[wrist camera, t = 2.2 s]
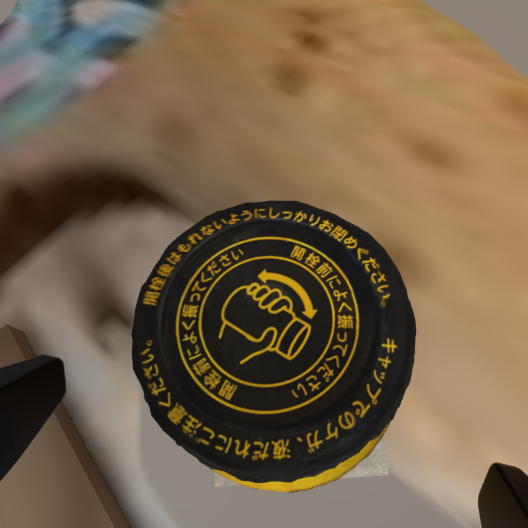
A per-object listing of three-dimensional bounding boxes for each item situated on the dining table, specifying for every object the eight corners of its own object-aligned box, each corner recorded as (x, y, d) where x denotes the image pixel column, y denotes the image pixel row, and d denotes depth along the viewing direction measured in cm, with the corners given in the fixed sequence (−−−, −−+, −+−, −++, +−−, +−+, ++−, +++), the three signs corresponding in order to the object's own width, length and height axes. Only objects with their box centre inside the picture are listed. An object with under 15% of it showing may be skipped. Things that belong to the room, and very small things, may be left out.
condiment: (214, 487, 16) (38, 562, 5) (213, 300, 20) (110, 122, 9) (388, 475, 16) (579, 529, 5) (353, 286, 19) (417, 85, 9)
